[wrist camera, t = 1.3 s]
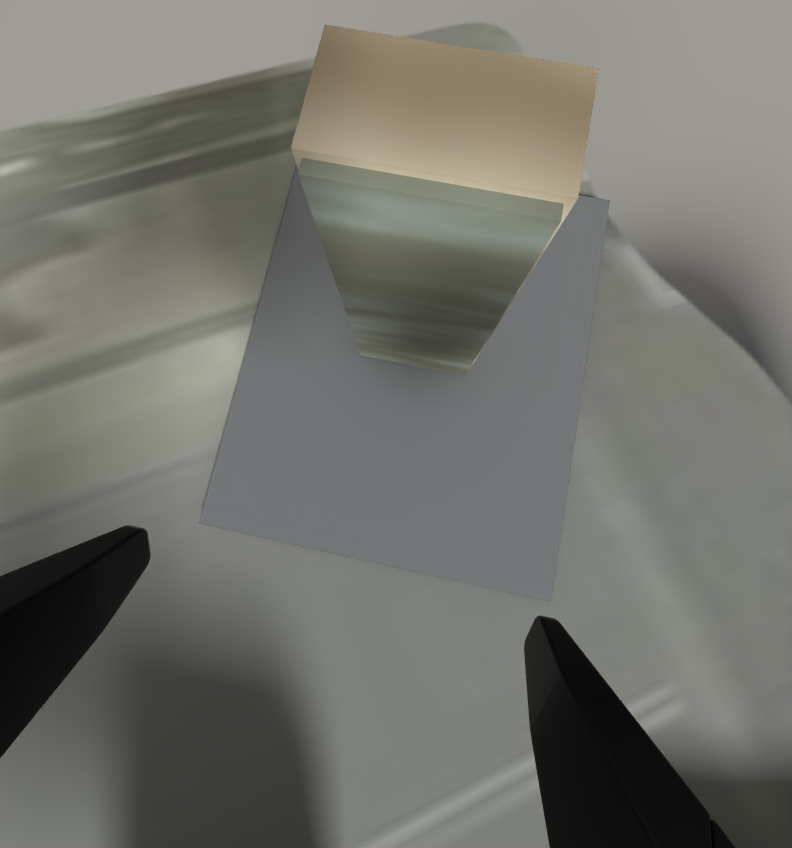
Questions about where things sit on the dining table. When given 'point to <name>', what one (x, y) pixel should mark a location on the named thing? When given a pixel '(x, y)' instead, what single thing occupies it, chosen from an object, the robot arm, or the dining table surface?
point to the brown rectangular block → (436, 184)
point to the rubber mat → (411, 423)
